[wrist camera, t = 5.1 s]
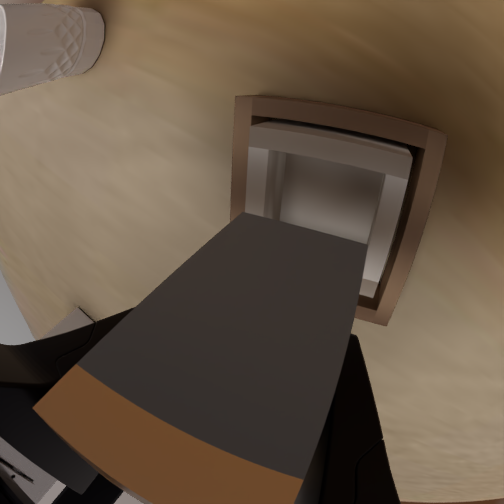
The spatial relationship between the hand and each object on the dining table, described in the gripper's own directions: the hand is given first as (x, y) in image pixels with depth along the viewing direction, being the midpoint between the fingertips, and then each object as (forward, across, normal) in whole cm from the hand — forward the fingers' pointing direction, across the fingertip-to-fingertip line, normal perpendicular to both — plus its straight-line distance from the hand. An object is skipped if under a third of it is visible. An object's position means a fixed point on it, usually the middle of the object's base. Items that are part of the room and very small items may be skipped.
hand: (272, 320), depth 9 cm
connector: (+2, 0, 0) cm, 2 cm away
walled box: (+12, 0, +1) cm, 12 cm away
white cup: (+12, +24, -11) cm, 29 cm away
